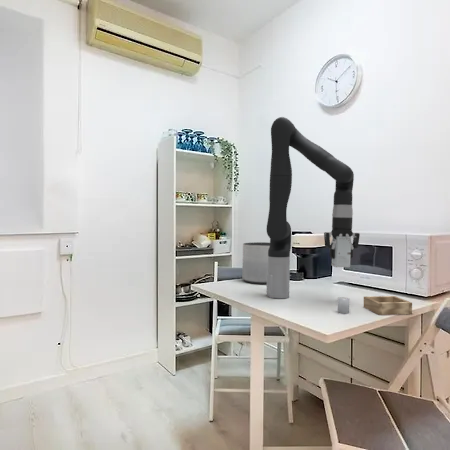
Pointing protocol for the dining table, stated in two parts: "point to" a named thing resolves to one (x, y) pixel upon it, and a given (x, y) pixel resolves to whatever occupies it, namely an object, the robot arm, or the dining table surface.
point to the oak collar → (387, 305)
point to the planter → (255, 262)
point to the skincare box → (342, 252)
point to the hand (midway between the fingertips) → (341, 258)
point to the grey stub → (343, 305)
